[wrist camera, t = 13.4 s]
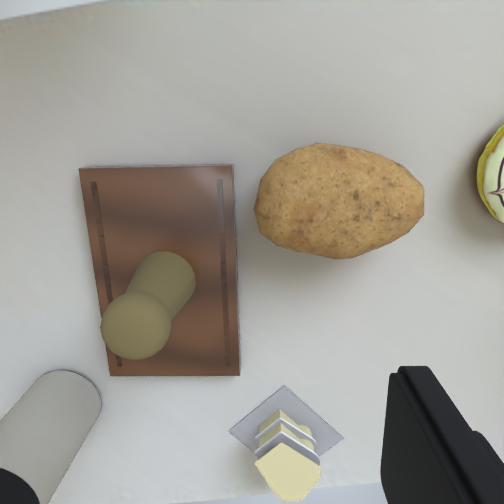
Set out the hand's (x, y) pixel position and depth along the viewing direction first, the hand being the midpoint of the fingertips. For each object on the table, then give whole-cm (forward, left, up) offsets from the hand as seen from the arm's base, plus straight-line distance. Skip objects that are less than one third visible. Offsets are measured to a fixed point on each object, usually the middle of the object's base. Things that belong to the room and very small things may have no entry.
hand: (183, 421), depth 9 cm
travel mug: (+23, -21, -31) cm, 44 cm away
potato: (0, +8, -31) cm, 32 cm away
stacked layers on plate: (+28, +4, -31) cm, 42 cm away
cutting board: (+8, -8, -30) cm, 32 cm away
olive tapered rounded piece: (+8, -8, -29) cm, 31 cm away
